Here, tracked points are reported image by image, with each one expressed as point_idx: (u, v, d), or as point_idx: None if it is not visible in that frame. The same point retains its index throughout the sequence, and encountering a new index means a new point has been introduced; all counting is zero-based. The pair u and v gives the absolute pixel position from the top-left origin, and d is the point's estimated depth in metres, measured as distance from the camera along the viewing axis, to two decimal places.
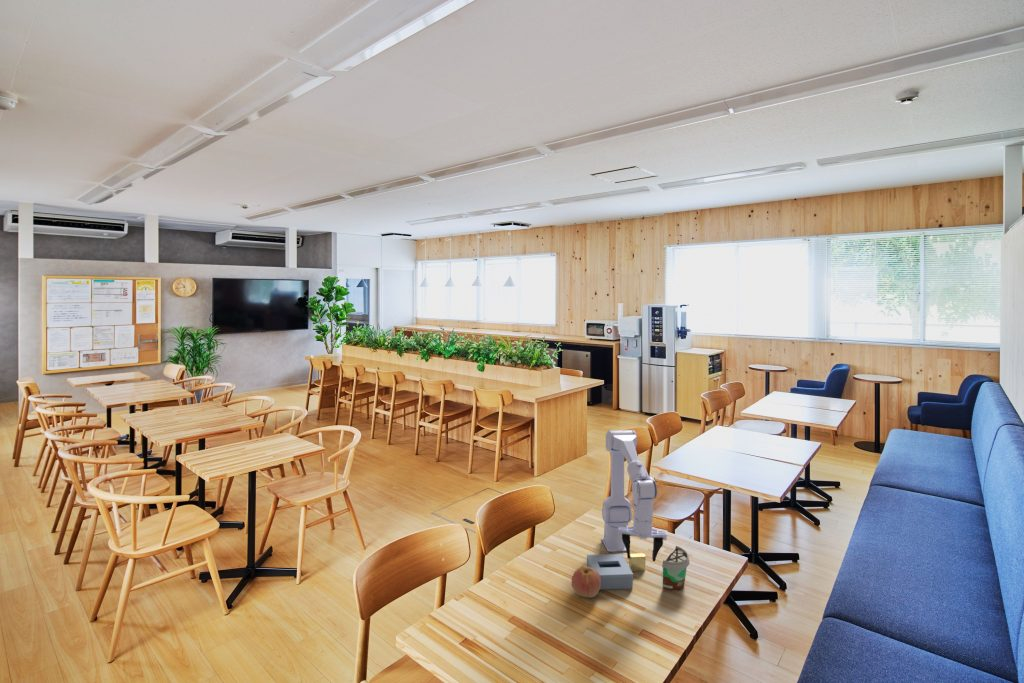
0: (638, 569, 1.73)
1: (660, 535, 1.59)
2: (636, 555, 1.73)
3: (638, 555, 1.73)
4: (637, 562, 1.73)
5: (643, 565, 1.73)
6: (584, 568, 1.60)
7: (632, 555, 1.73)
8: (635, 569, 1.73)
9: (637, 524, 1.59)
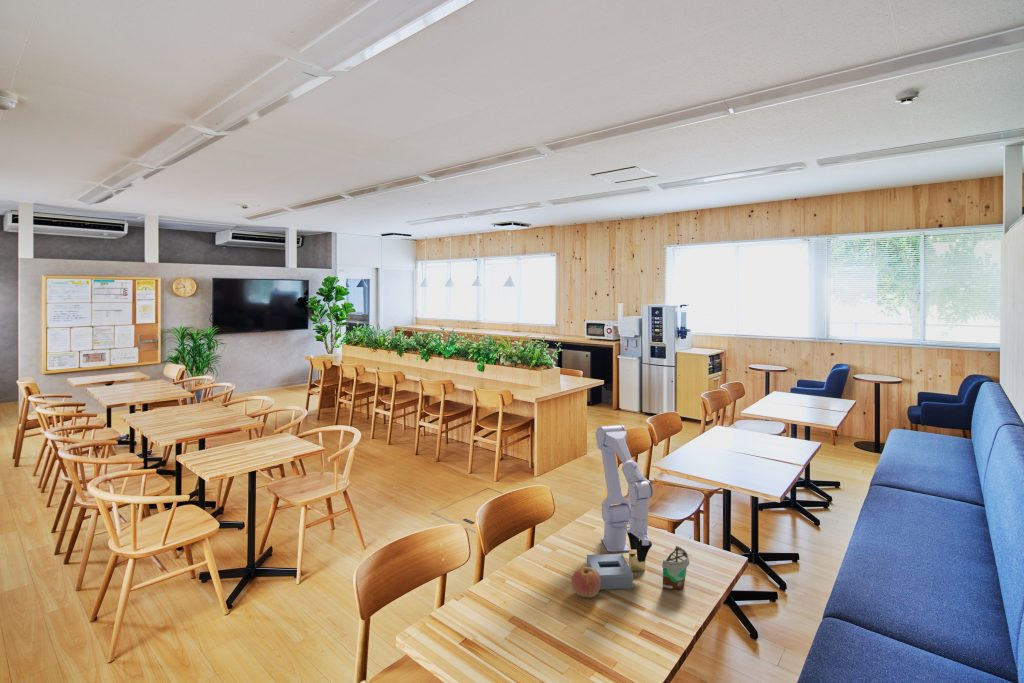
0: (638, 569, 1.73)
1: (640, 538, 1.67)
2: (636, 555, 1.73)
3: None
4: (637, 562, 1.73)
5: (643, 565, 1.73)
6: (584, 568, 1.60)
7: (632, 555, 1.73)
8: (635, 569, 1.73)
9: None
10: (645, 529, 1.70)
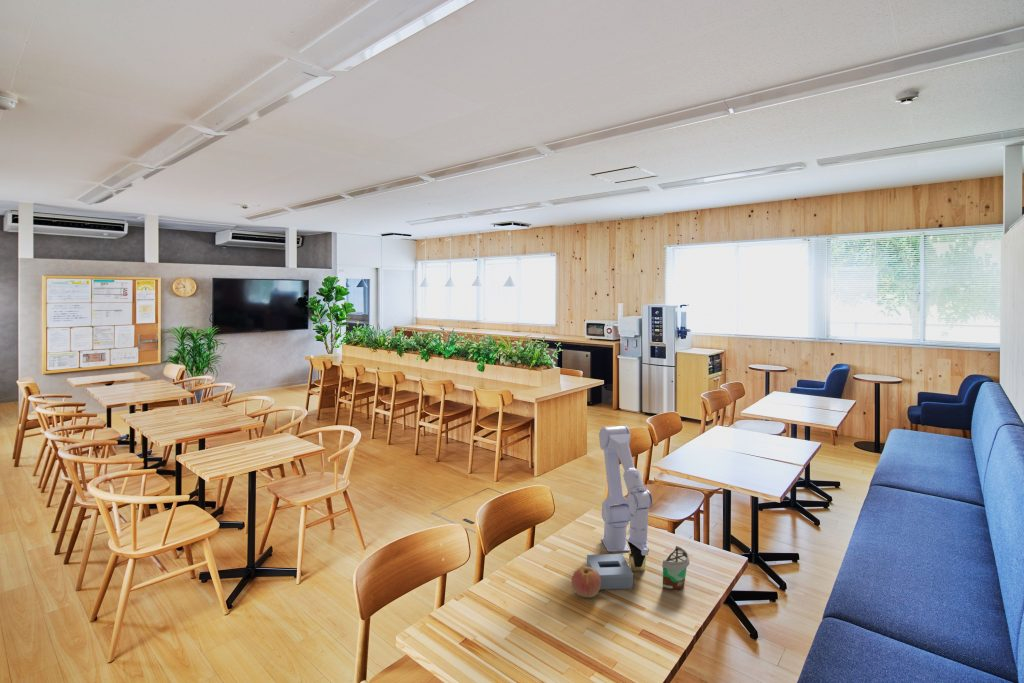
0: (638, 569, 1.73)
1: (639, 547, 1.68)
2: None
3: None
4: None
5: (643, 564, 1.73)
6: (584, 568, 1.60)
7: (632, 555, 1.73)
8: (635, 569, 1.73)
9: None
10: (645, 539, 1.71)
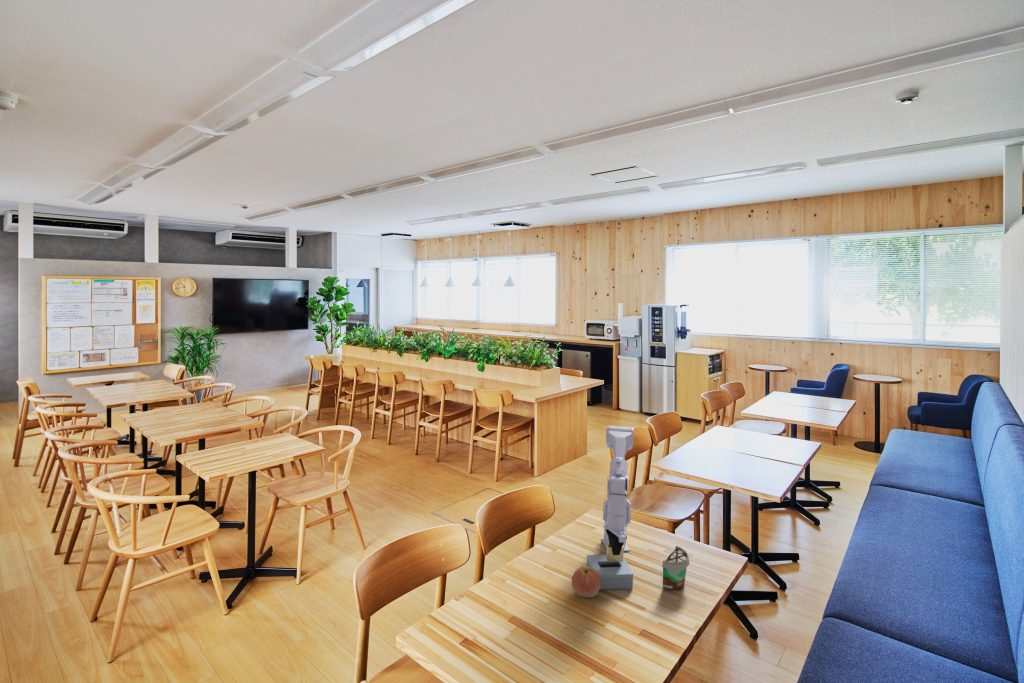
0: (616, 560, 1.68)
1: (617, 534, 1.62)
2: None
3: None
4: None
5: (621, 556, 1.68)
6: (584, 568, 1.60)
7: (610, 546, 1.68)
8: (613, 560, 1.67)
9: None
10: (622, 526, 1.65)
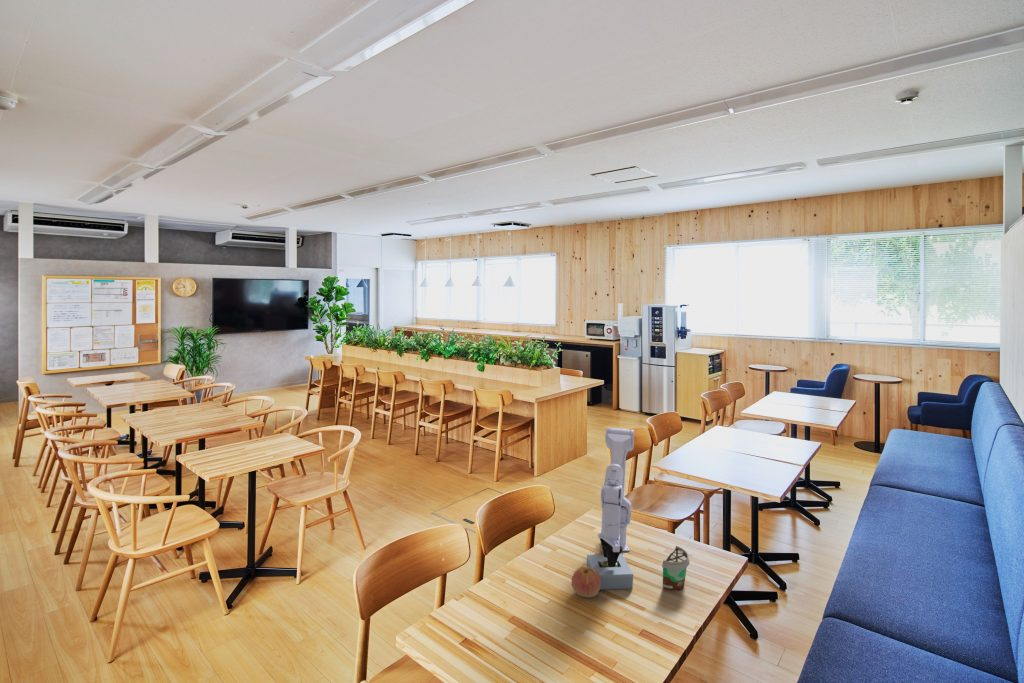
0: None
1: (610, 544, 1.61)
2: None
3: None
4: None
5: None
6: (584, 568, 1.60)
7: (603, 563, 1.68)
8: None
9: None
10: (617, 535, 1.64)
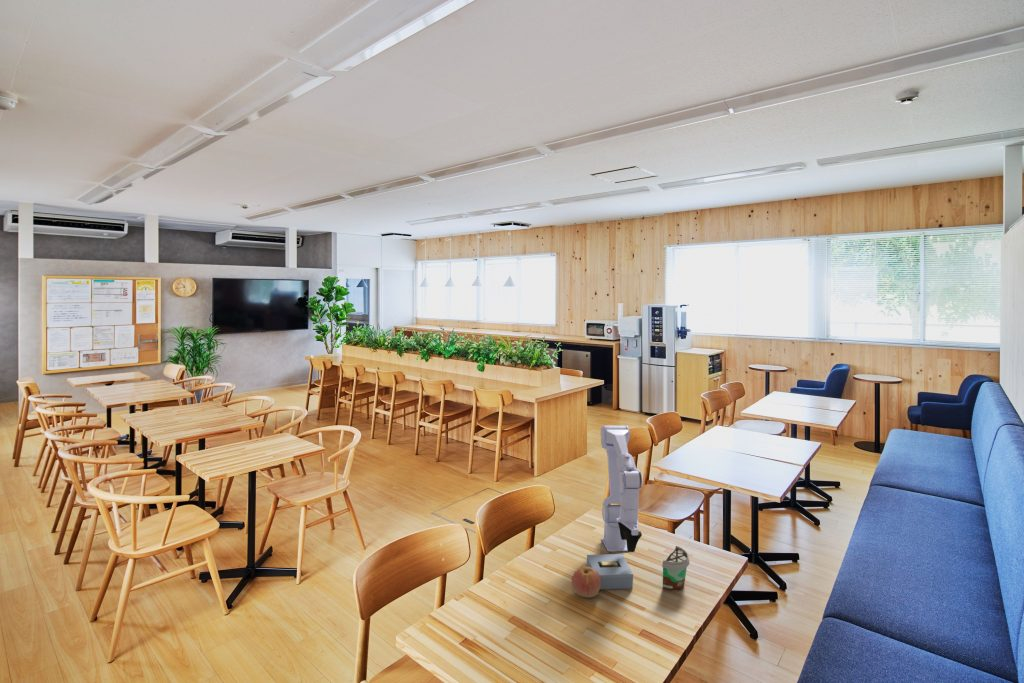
0: None
1: (629, 527, 1.65)
2: (608, 563, 1.68)
3: (610, 563, 1.68)
4: None
5: None
6: (584, 568, 1.60)
7: (603, 563, 1.68)
8: None
9: None
10: (635, 519, 1.68)
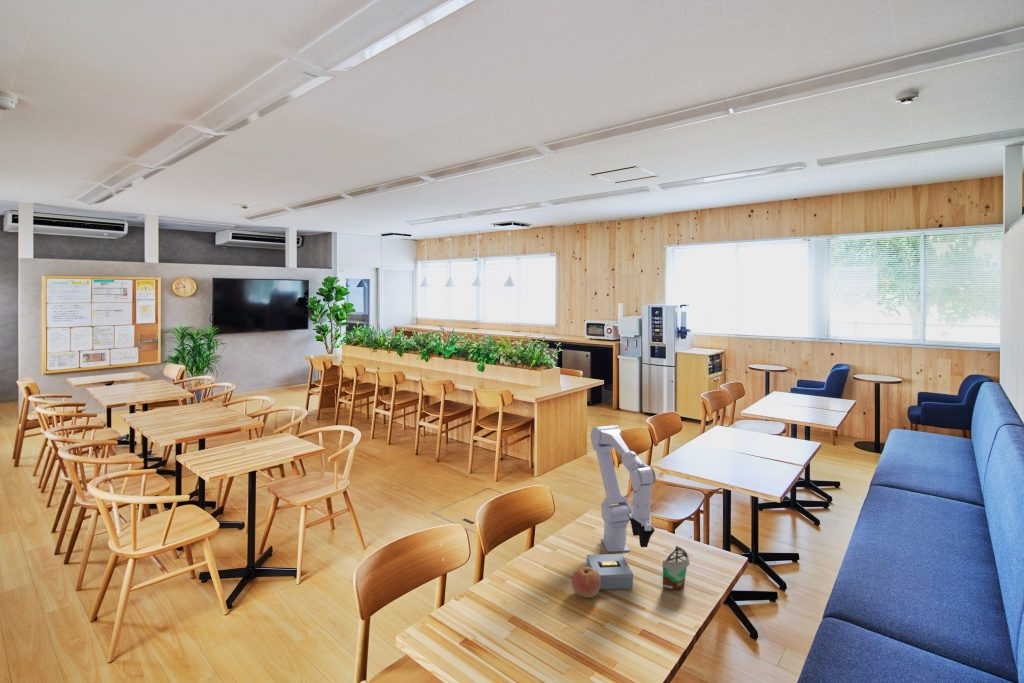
0: None
1: (642, 523, 1.68)
2: (608, 563, 1.68)
3: (610, 563, 1.68)
4: None
5: None
6: (584, 568, 1.60)
7: (603, 563, 1.68)
8: None
9: None
10: (647, 515, 1.71)
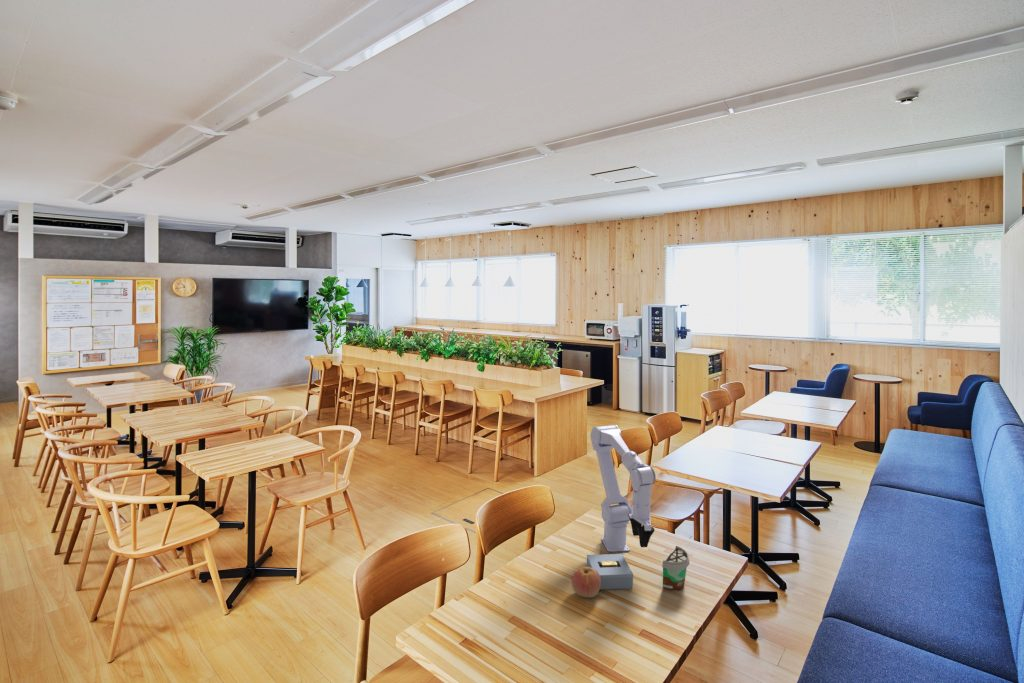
0: None
1: (642, 523, 1.68)
2: (608, 563, 1.68)
3: (610, 563, 1.68)
4: None
5: None
6: (584, 568, 1.60)
7: (603, 563, 1.68)
8: None
9: None
10: (647, 515, 1.71)
